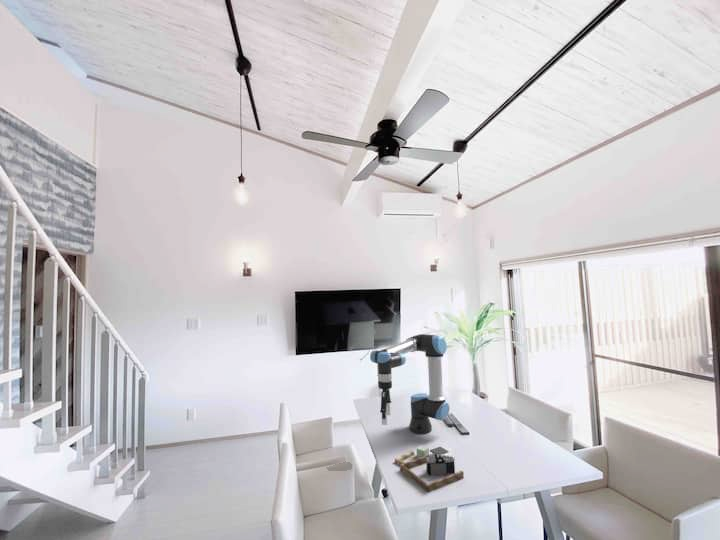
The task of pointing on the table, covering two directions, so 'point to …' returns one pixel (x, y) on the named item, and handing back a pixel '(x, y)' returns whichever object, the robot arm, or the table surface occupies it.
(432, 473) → the camera
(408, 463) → the brown wooden u frame
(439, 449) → the pad
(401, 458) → the crook
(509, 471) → the table surface
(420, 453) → the sage cube
